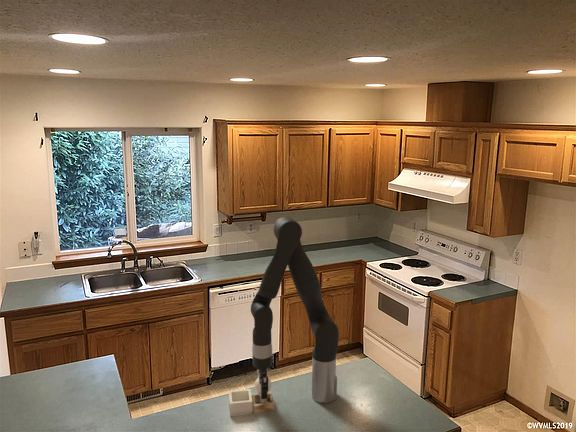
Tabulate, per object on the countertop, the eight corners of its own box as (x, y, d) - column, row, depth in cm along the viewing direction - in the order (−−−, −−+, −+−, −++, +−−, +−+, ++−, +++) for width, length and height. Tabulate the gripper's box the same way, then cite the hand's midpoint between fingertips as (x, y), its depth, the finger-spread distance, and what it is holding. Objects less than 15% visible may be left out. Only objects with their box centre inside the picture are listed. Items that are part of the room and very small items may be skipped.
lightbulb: (269, 408, 172) (269, 382, 170) (253, 407, 173) (252, 380, 171) (273, 399, 178) (272, 373, 176) (257, 397, 179) (257, 371, 177)
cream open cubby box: (250, 400, 179) (250, 388, 178) (252, 413, 171) (252, 401, 170) (229, 402, 178) (228, 390, 177) (230, 415, 170) (229, 403, 169)
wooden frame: (271, 398, 180) (271, 391, 180) (274, 410, 173) (274, 403, 172) (251, 400, 179) (251, 393, 179) (253, 413, 171) (253, 405, 171)
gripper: (275, 361, 165) (275, 403, 169) (269, 343, 179) (270, 382, 183) (254, 363, 164) (255, 405, 167) (250, 345, 178) (251, 384, 181)
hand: (263, 393), depth 175 cm, fingers closed on lightbulb, 6 cm apart
